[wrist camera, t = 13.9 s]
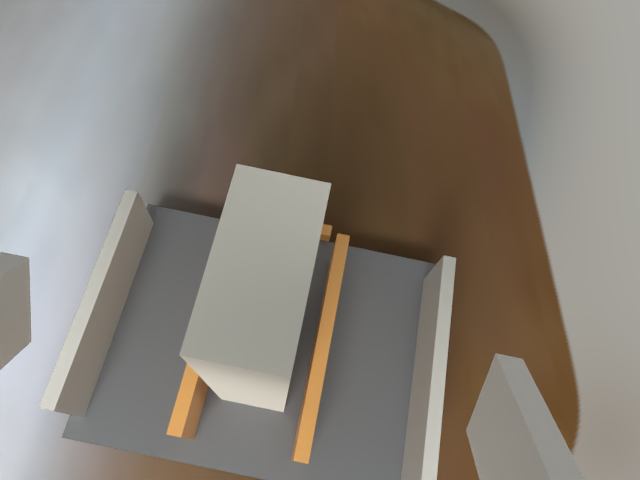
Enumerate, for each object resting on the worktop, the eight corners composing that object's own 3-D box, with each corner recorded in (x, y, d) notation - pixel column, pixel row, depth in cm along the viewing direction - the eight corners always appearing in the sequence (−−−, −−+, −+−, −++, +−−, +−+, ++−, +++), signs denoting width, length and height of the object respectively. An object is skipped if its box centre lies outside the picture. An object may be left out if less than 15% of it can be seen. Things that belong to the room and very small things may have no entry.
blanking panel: (251, 280, 26) (236, 163, 16) (308, 292, 26) (331, 183, 16) (221, 399, 24) (179, 355, 13) (283, 412, 24) (290, 378, 13)
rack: (156, 204, 29) (135, 160, 25) (432, 261, 29) (459, 227, 25) (71, 438, 24) (26, 434, 20) (405, 507, 24) (434, 518, 20)
